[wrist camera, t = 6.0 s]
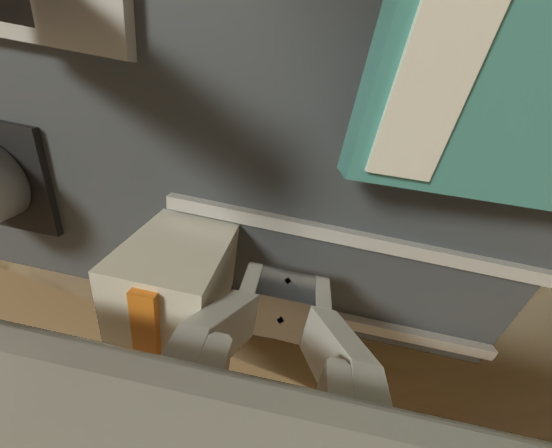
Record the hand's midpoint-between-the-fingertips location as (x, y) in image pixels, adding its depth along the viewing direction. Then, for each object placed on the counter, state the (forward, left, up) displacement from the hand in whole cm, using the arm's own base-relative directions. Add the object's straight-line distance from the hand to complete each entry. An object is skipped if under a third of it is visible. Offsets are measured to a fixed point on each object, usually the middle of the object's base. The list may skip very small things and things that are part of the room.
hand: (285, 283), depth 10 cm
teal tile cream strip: (-7, +5, 0) cm, 8 cm away
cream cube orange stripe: (0, -4, -1) cm, 4 cm away
